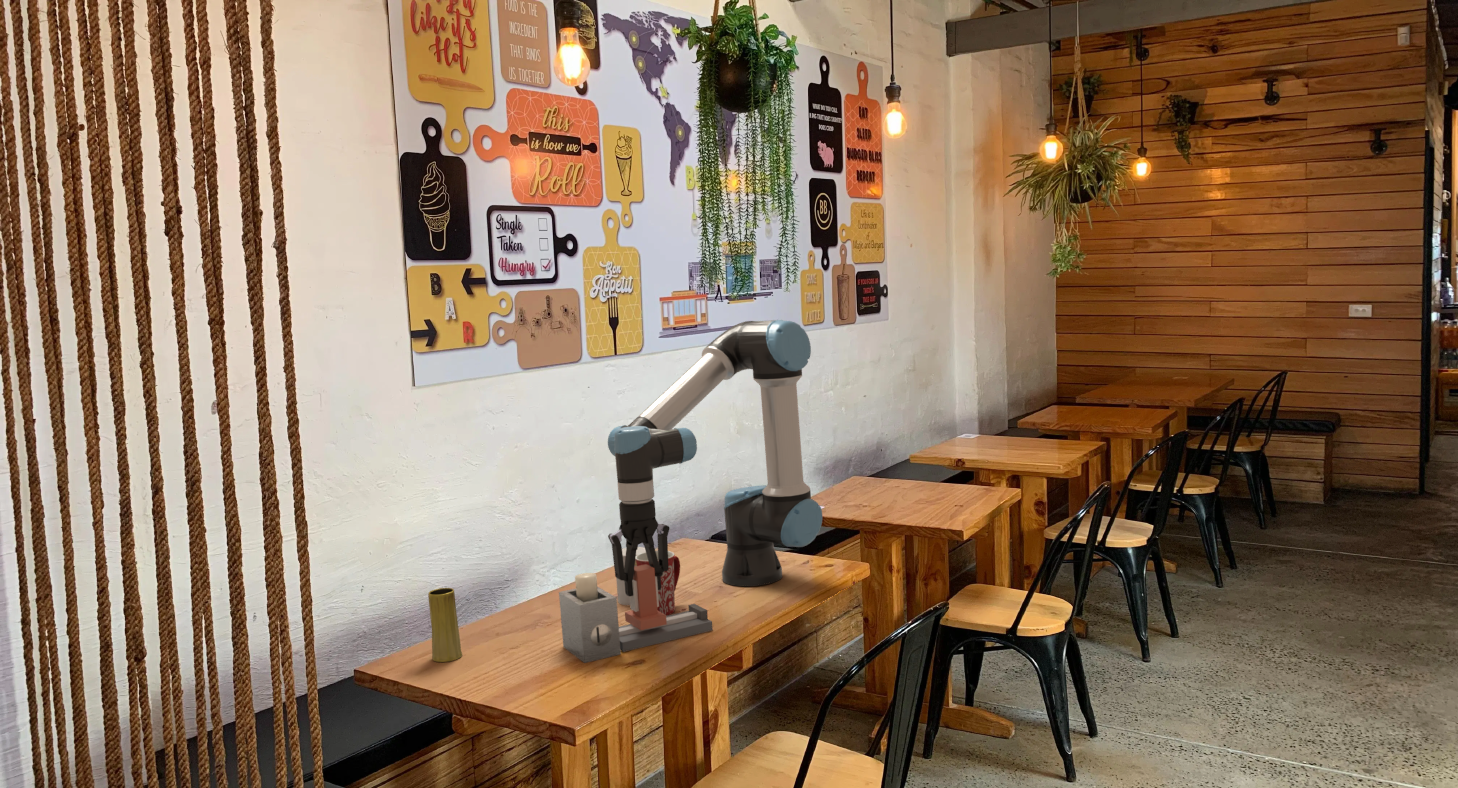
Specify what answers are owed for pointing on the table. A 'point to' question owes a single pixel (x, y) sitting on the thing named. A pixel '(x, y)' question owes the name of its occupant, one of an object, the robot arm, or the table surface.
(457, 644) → the vase
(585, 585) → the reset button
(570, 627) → the grey box holder
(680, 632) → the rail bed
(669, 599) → the mug
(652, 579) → the carriage
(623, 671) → the table surface
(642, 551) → the cup
